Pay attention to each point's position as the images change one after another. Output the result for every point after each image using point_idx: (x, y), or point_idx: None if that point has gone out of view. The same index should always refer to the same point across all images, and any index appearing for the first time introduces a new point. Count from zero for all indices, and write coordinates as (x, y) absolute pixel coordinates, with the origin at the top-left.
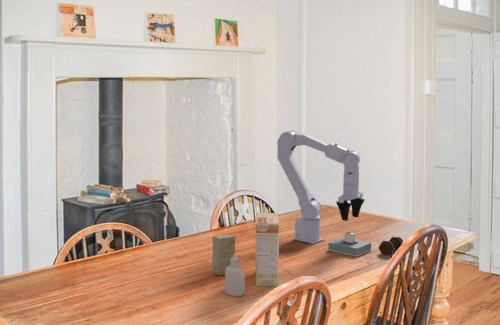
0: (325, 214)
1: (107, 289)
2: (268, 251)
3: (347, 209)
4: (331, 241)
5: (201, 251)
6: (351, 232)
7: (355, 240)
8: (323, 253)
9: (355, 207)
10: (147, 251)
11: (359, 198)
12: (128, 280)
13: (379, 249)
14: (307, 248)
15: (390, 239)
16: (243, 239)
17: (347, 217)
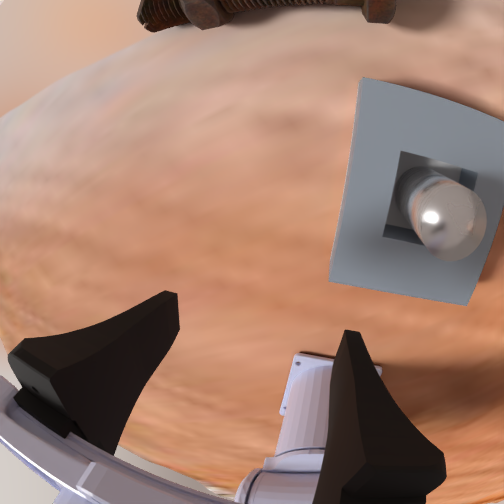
0: None
1: None
2: None
3: (404, 416)
4: (444, 301)
5: (498, 469)
6: (430, 224)
7: (365, 189)
8: (499, 282)
9: (131, 367)
10: (497, 491)
11: (40, 402)
12: None
13: (391, 19)
14: (447, 357)
15: (216, 7)
16: None
17: (362, 348)
